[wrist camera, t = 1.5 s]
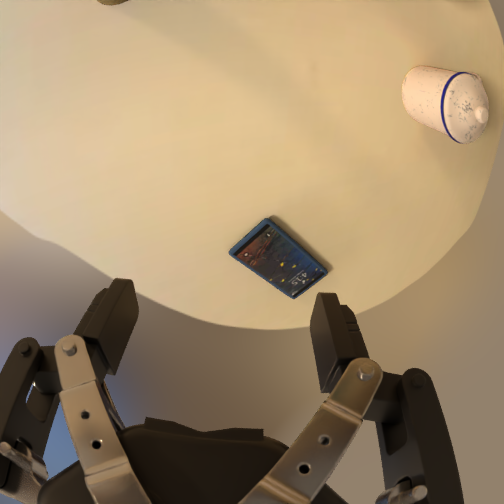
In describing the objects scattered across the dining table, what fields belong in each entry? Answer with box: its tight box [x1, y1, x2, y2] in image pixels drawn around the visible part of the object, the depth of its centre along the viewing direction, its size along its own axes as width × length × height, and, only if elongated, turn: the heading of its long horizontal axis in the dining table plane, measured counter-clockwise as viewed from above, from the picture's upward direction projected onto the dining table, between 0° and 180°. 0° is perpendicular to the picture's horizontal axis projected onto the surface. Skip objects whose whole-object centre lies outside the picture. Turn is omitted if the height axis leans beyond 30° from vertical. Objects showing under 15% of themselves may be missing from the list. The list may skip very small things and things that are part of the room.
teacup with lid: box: [402, 66, 489, 144], centre depth 24 cm, size 12×9×12 cm
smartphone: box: [229, 218, 328, 299], centre depth 42 cm, size 8×1×15 cm
